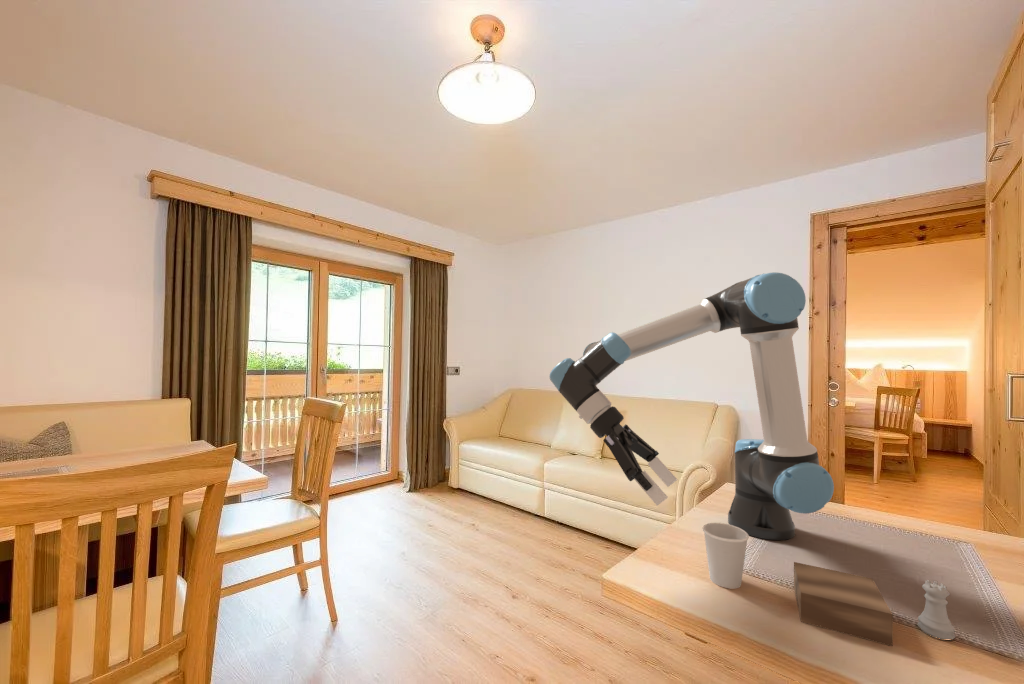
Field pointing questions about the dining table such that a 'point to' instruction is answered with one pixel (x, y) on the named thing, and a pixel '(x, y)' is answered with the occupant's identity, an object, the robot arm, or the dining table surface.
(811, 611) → the walnut block
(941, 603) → the rook chess piece
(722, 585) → the dixie cup
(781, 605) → the dining table surface
